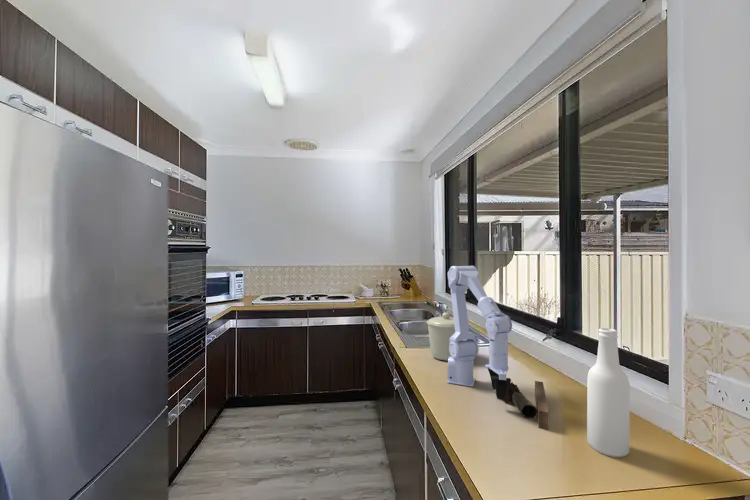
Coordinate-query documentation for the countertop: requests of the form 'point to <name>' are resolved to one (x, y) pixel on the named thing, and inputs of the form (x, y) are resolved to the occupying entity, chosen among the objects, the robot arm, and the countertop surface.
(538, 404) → the brown wooden plank
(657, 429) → the countertop surface
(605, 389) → the alcohol
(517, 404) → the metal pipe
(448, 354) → the canister
